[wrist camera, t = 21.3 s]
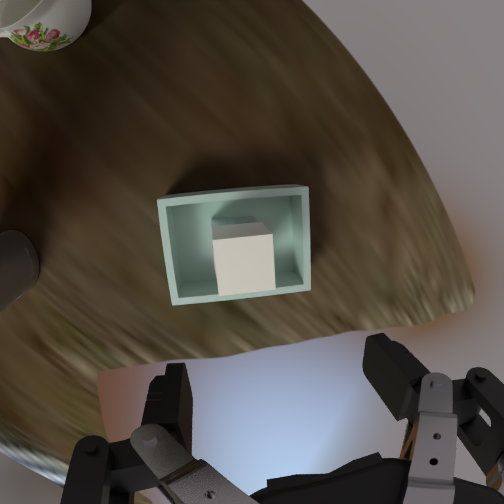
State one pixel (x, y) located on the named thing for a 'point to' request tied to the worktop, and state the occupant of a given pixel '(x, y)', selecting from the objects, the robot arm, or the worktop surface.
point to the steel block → (230, 222)
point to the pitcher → (43, 22)
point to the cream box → (243, 258)
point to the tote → (234, 205)
